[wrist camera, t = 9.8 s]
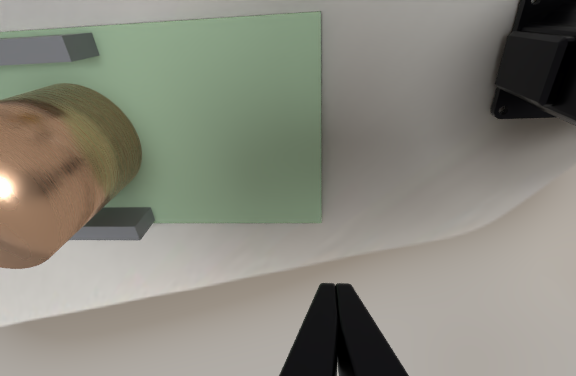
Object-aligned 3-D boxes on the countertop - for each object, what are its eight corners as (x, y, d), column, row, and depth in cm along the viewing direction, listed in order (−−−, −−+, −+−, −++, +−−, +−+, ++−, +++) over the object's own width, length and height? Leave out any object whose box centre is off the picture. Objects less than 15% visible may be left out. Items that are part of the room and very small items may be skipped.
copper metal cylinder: (123, 83, 19) (11, 127, 12) (153, 190, 22) (82, 271, 16) (7, 83, 19) (-166, 125, 12) (55, 188, 23) (-55, 265, 16)
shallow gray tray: (91, 32, 17) (61, 35, 15) (155, 220, 24) (139, 240, 22) (-54, 41, 18) (-102, 46, 16) (45, 220, 25) (21, 239, 23)
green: (320, 11, 16) (320, 11, 16) (321, 218, 23) (321, 223, 23) (-47, 35, 19) (-57, 36, 18) (52, 218, 25) (47, 223, 25)
